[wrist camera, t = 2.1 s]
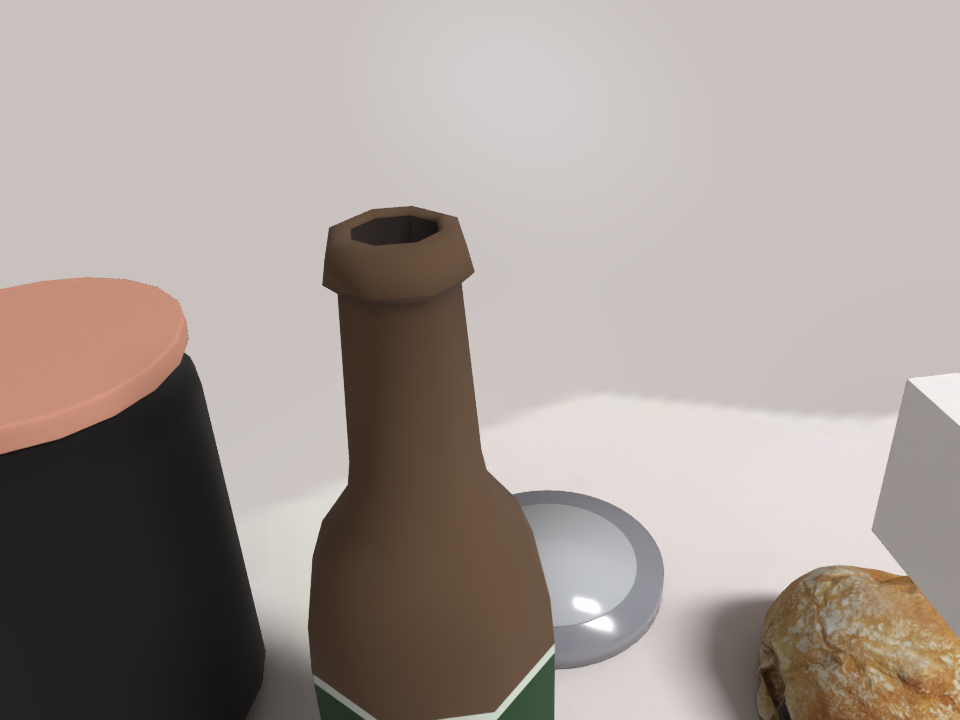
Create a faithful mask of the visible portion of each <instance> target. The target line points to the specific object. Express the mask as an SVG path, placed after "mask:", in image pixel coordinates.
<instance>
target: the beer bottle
mask: <svg viewBox="0 0 960 720" xmlns="http://www.w3.org/2000/svg"><path fill="white" fill-rule="evenodd" d="M473 273H474V268H473V265H472V261H471V258H470V254H469V251H468V248H467V245H466V242H465V239H464V236H463V233H462V230H461V227H460V224H459V221H458V218H457V217H454V216H450V215H446V214H442V213H438V212H434V211H429V210H426V209H422V208H418V207H414V206H408V207H395V208H383V209H372V210H369V211H367V212H364V213H362V214H360V215H357V216H355V217H353V218H350V219H349V220H346V221H344V222H341V223H339V224H337V225H334V226H332V227H330V228H329V233H328V240H327V247H326V253H325V260H324V272H323V284H322V285H323V286H324V287H326V288H328V289H330V290H332V291H333V292H335V293H337V294H338V305H339V320H340V333H341V349H342V363H343V376H344V391H345V406H346V419H347V434H348V448H349V476H348V485H347V487H346V488H345V490H344V491H343V492H342V494H341V495H340V497H339V498H338V500H337V501H336V502H335V504H334V505H333V507H332V508H331V509H330V511H329V512H328V514H327V515H326V517H325V518H324V519H323V521H322V524H321V528H320V531H319V535H318V539H317V543H316V546H315V550H314V554H313V559H312V574H311V589H310V605H309V620H308V633H309V644H310V656H311V667H312V675H313V680H314V685H315V690H316V695H317V700H318V705H319V710H320V715H321V720H554V683H555V640H554V630H553V620H552V610H551V600H550V595H549V591H548V588H547V584H546V580H545V576H544V572H543V568H542V565H541V561H540V557H539V553H538V549H537V545H536V542H535V538H534V534H533V531H532V529H531V527H530V525H529V523H528V521H527V519H526V516H525V514H524V512H523V510H522V508H521V506H520V504H519V502H518V500H517V499H516V498H515V497H514V496H513V495H512V494H511V493H510V492H509V491H508V490H507V489H506V488H505V487H504V486H503V485H502V484H501V483H500V482H498V481H497V480H496V479H495V478H494V477H493V476H492V475H491V474H490V473H489V472H488V471H487V470H486V466H485V462H484V458H483V454H482V450H481V443H480V435H479V426H478V418H477V410H476V401H475V393H474V384H473V376H472V368H471V359H470V351H469V342H468V334H467V325H466V317H465V309H464V300H463V291H462V282H463V281H464V280H466V279H467V278H468V277H469V276H471V275H472V274H473Z"/></svg>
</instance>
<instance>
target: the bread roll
mask: <svg viewBox="0 0 960 720" xmlns="http://www.w3.org/2000/svg"><path fill="white" fill-rule="evenodd" d="M758 656H759V659H758V664H759V666H758V670H757V673H756V675H757V676H758V677H759V678H760V679H761V682H760V688H759V690H758V692H757V694H756V703H757V709H758V712H759V715H760V716H761V717H762V719H763V720H960V639H959V638H958V637H957V635H956V634H955V633H954V632H953V630H952V629H951V628H950V627H949V625H948V624H947V623H946V622H945V621H944V619H943V618H942V617H941V616H940V614H939V613H938V612H937V611H936V609H935V608H934V607H933V606H932V604H931V603H930V602H929V601H928V599H927V598H926V597H925V596H924V594H923V593H922V592H921V591H920V590H919V588H918V587H917V586H916V585H915V583H914V582H913V581H912V580H911V578H910V577H909V576H900V575H894V574H891V573H887V572H884V571H880V570H875V569H866V568H860V567H855V566H841V565H839V566H828V567H821V568H818V569H815V570H813V571H811V572H809V573H807V574H805V575H803V576H801V577H799V578H798V579H796V580H795V581H794V582H792V583H791V584H790V585H789V586H788V587H787V588H786V589H785V590H784V591H783V592H782V593H781V594H780V596H779V597H778V598H777V600H776V601H775V602H774V604H773V605H772V607H771V608H770V609H769V611H768V612H767V614H766V617H765V622H764V627H763V632H762V635H761V639H760V645H759V654H758Z"/></svg>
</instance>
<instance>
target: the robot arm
mask: <svg viewBox="0 0 960 720" xmlns="http://www.w3.org/2000/svg"><path fill="white" fill-rule="evenodd" d="M872 531H873V532H874V534H875V535H876V536H877V537H878V539H879V540H880V541H881V542H882V544H883V545H884V546H885V547H886V549H887V550H888V551H889V552H890V554H891V555H892V556H893V557H894V559H895V560H896V561H897V562H898V563H899V565H900V566H901V567H902V568H903V570H904V571H905V572H906V573H907V575H908V576H909V577H910V578H911V580H912V581H913V582H914V583H915V585H916V586H917V587H918V588H919V590H920V591H921V592H922V593H923V594H924V596H925V597H926V598H927V599H928V601H929V602H930V603H931V604H932V606H933V607H934V608H935V609H936V611H937V612H938V613H939V614H940V616H941V617H942V618H943V619H944V621H945V622H946V623H947V624H948V625H949V627H950V628H951V629H952V630H953V632H954V633H955V634H956V635H957V637H958V638H959V639H960V374H959V373H952V374H945V375H935V376H927V377H918V378H910V379H907V382H906V386H905V390H904V394H903V399H902V403H901V407H900V411H899V416H898V420H897V424H896V428H895V433H894V437H893V441H892V445H891V450H890V454H889V458H888V462H887V467H886V471H885V475H884V479H883V484H882V488H881V492H880V496H879V501H878V505H877V509H876V513H875V518H874V522H873V526H872Z"/></svg>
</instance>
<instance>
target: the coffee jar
mask: <svg viewBox="0 0 960 720" xmlns="http://www.w3.org/2000/svg"><path fill="white" fill-rule="evenodd" d="M188 339H189V338H188V331H187V324H186V320H185V317H184V315H183V312H182V309H181V307H180V304H179V302H178V301H177V300H176V299H175V298H173V297H171V296H170V295H168V294H167V293H165V292H164V291H162V290H161V289H159V288H158V287H155V286H151V285H147V284H143V283H139V282H135V281H131V280H127V279H110V278H89V277H85V278H74V279H61V280H50V281H40V282H35V283H30V284H26V285H20V286H16V287H10V288H6V289H0V720H245V718H246V716H247V714H248V712H249V710H250V708H251V706H252V704H253V702H254V700H255V698H256V696H257V694H258V692H259V690H260V687H261V684H262V678H263V670H264V661H265V652H266V651H265V647H264V643H263V639H262V635H261V630H260V626H259V622H258V618H257V614H256V609H255V605H254V601H253V597H252V593H251V588H250V584H249V580H248V576H247V572H246V568H245V563H244V559H243V555H242V551H241V547H240V542H239V538H238V534H237V530H236V526H235V522H234V517H233V513H232V509H231V505H230V501H229V496H228V492H227V488H226V484H225V480H224V476H223V471H222V467H221V463H220V459H219V455H218V450H217V446H216V442H215V438H214V434H213V430H212V425H211V421H210V417H209V413H208V409H207V404H206V400H205V396H204V392H203V388H202V384H201V382H200V379H199V376H198V373H197V371H196V368H195V365H194V363H193V362H192V360H191V358H190V356H188V355H187V354H186V353H184V351H185V348H186V345H187V342H188Z"/></svg>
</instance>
